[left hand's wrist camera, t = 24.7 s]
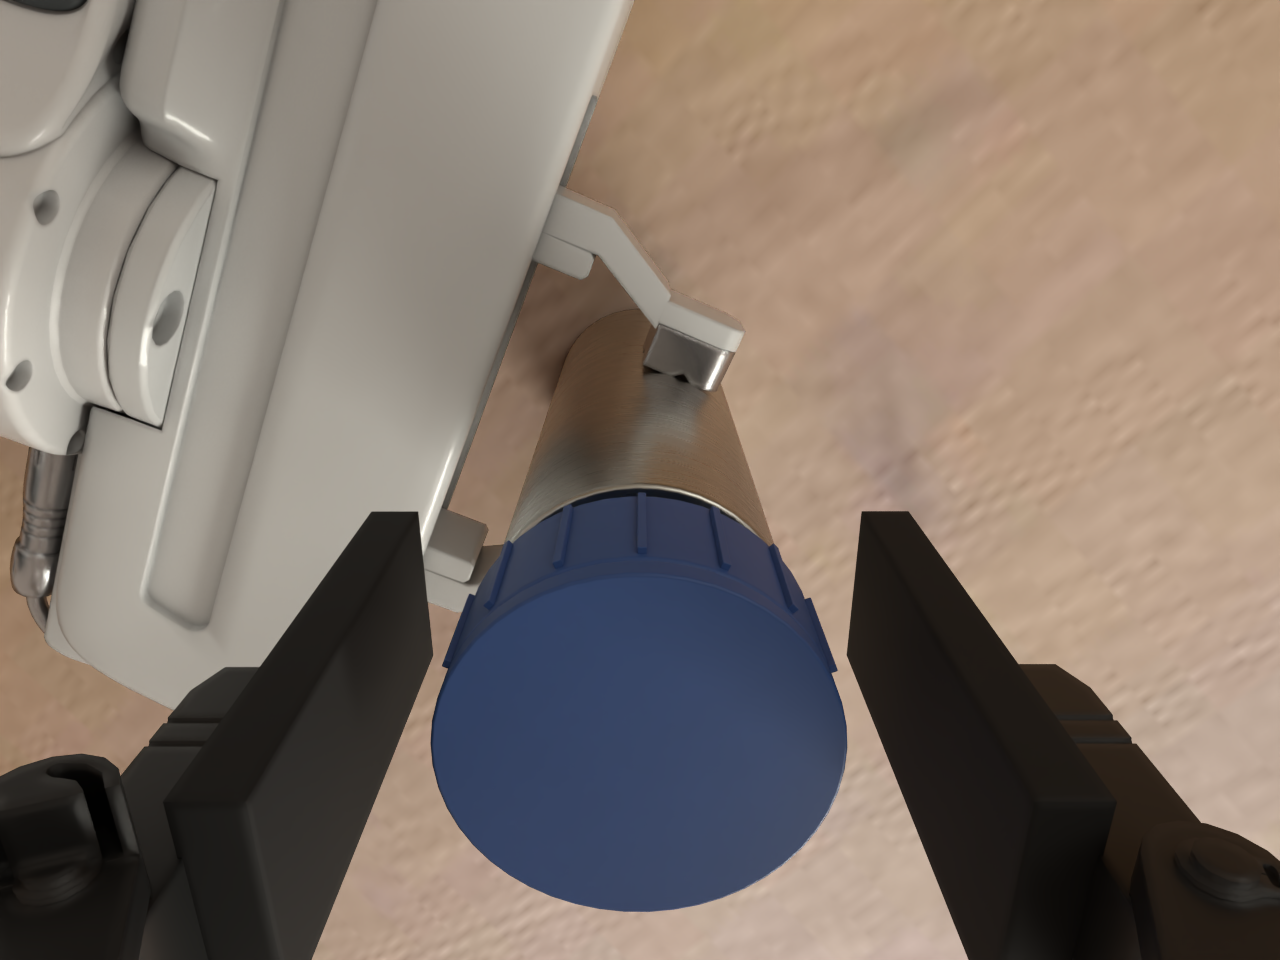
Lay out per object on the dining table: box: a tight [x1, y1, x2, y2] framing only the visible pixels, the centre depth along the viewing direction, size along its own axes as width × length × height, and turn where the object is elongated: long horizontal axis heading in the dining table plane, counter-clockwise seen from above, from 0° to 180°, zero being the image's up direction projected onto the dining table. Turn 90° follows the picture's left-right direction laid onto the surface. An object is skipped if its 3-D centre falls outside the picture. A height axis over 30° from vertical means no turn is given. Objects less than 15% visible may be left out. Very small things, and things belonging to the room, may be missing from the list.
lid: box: [431, 492, 847, 912], centre depth 11 cm, size 5×5×2 cm
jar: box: [504, 309, 774, 546], centre depth 18 cm, size 5×5×16 cm
